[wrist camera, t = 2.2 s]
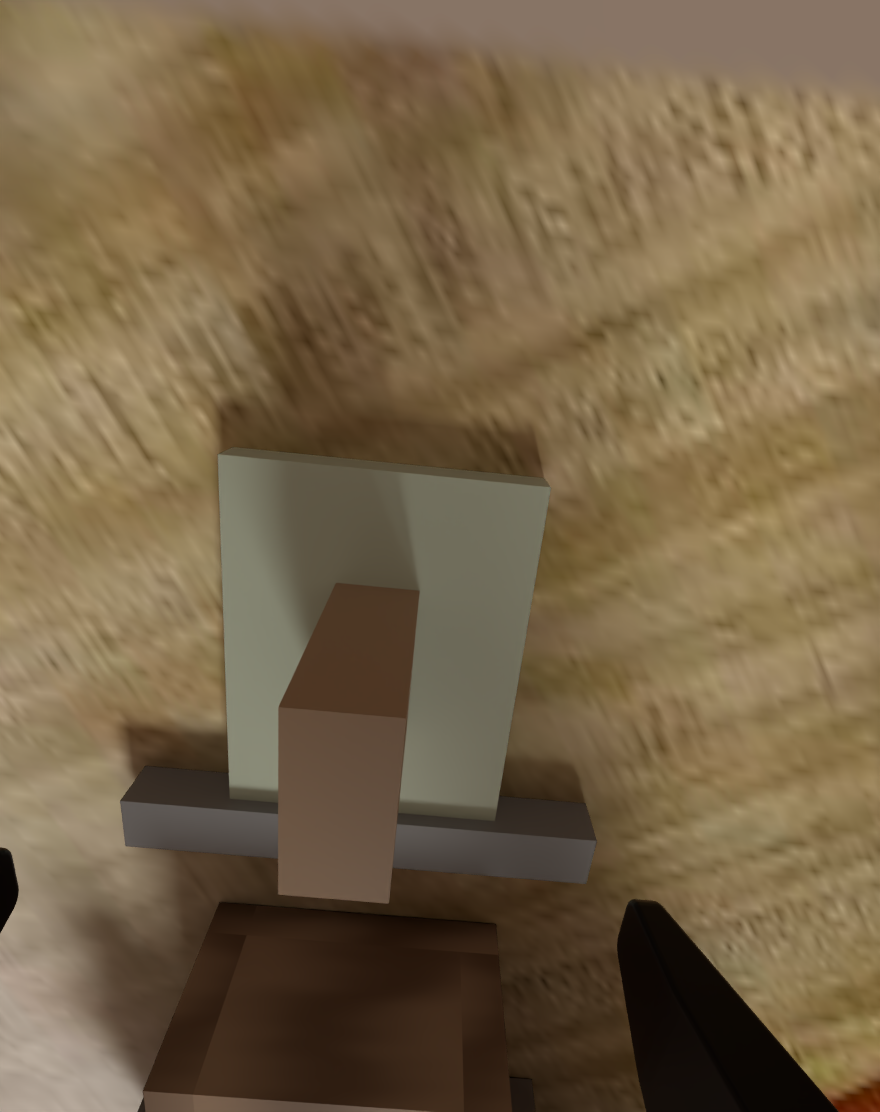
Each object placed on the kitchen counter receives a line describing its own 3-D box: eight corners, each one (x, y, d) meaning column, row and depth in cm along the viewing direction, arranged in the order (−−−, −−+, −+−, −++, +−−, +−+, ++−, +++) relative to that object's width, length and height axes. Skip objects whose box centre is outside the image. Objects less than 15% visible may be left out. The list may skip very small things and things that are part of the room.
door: (656, 487, 14) (805, 588, 8) (574, 838, 18) (636, 1077, 12) (118, 433, 14) (-125, 498, 8) (152, 803, 18) (7, 1030, 12)
